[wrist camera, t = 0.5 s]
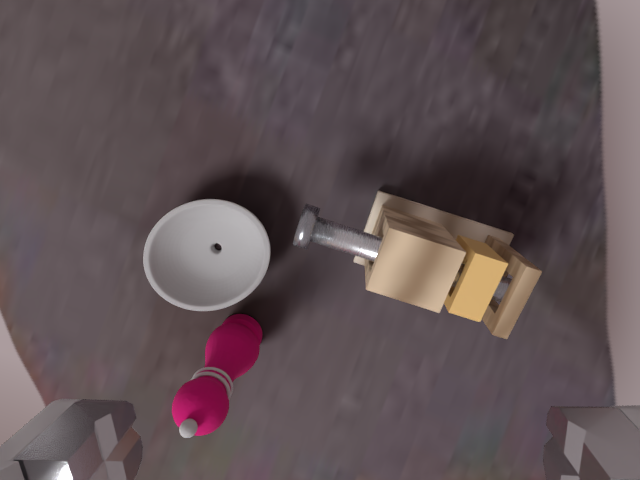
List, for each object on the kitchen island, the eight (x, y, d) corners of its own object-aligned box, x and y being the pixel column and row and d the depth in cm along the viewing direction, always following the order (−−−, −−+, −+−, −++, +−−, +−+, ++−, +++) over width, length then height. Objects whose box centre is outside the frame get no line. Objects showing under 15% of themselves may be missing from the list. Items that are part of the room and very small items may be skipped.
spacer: (435, 286, 48) (448, 312, 41) (458, 234, 46) (475, 253, 39) (462, 294, 48) (479, 322, 41) (486, 243, 46) (508, 263, 39)
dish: (244, 170, 51) (232, 175, 46) (298, 262, 54) (292, 276, 49) (140, 229, 54) (119, 239, 50) (196, 313, 57) (181, 330, 52)
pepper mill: (233, 301, 56) (168, 391, 37) (274, 327, 57) (233, 429, 38) (210, 337, 58) (138, 439, 39) (250, 361, 59) (199, 475, 40)
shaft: (297, 238, 46) (290, 250, 41) (308, 200, 44) (302, 208, 40) (497, 302, 45) (512, 321, 41) (514, 266, 44) (533, 282, 39)
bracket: (353, 259, 53) (352, 299, 41) (378, 190, 50) (384, 210, 38) (479, 299, 53) (515, 351, 40) (511, 232, 50) (560, 266, 38)
